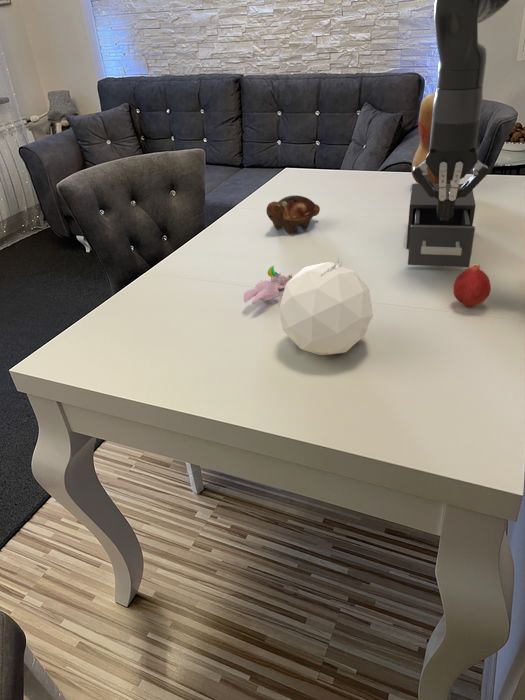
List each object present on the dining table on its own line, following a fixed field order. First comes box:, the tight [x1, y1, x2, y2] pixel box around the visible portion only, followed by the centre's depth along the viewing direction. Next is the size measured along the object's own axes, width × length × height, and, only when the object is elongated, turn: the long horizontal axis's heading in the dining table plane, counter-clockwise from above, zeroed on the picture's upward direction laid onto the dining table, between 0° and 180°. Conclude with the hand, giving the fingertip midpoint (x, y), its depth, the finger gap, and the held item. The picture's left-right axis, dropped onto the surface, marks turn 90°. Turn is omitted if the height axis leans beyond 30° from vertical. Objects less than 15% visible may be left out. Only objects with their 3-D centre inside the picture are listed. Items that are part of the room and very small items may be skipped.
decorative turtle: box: [265, 194, 321, 235], centre depth 127 cm, size 10×15×8 cm, turn 132°
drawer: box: [407, 208, 476, 268], centre depth 105 cm, size 18×11×8 cm, turn 165°
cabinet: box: [405, 183, 476, 250], centre depth 116 cm, size 15×13×10 cm
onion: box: [452, 263, 492, 309], centre depth 89 cm, size 6×6×8 cm
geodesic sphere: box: [278, 256, 374, 356], centre depth 81 cm, size 15×14×14 cm
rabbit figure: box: [243, 265, 293, 304], centre depth 98 cm, size 6×6×15 cm
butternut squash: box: [411, 91, 451, 184], centre depth 139 cm, size 14×13×25 cm
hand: (444, 219), depth 97 cm, fingers closed
